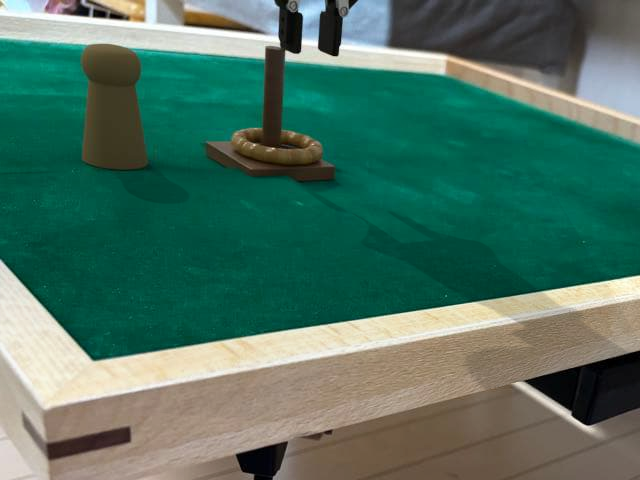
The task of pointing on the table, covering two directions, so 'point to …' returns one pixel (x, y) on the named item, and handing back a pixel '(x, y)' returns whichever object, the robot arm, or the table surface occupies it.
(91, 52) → the cork
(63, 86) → the table surface
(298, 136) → the ring
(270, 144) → the post
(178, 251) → the table surface
